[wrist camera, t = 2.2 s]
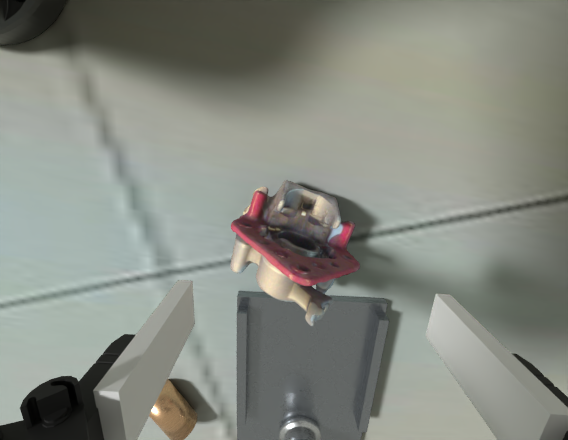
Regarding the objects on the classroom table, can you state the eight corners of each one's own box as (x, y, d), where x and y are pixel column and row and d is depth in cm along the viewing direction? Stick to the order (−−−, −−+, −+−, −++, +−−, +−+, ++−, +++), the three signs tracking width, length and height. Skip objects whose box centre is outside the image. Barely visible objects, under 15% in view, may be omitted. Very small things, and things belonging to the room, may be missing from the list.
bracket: (239, 291, 30) (225, 336, 23) (384, 298, 30) (412, 345, 23) (238, 434, 36) (228, 502, 30) (357, 439, 36) (373, 508, 30)
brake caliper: (383, 185, 24) (385, 324, 17) (333, 243, 32) (321, 350, 25) (258, 141, 23) (205, 270, 16) (242, 214, 31) (203, 316, 24)
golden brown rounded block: (150, 385, 34) (135, 413, 30) (174, 375, 33) (162, 402, 30) (177, 416, 36) (166, 446, 32) (200, 407, 35) (191, 437, 32)
